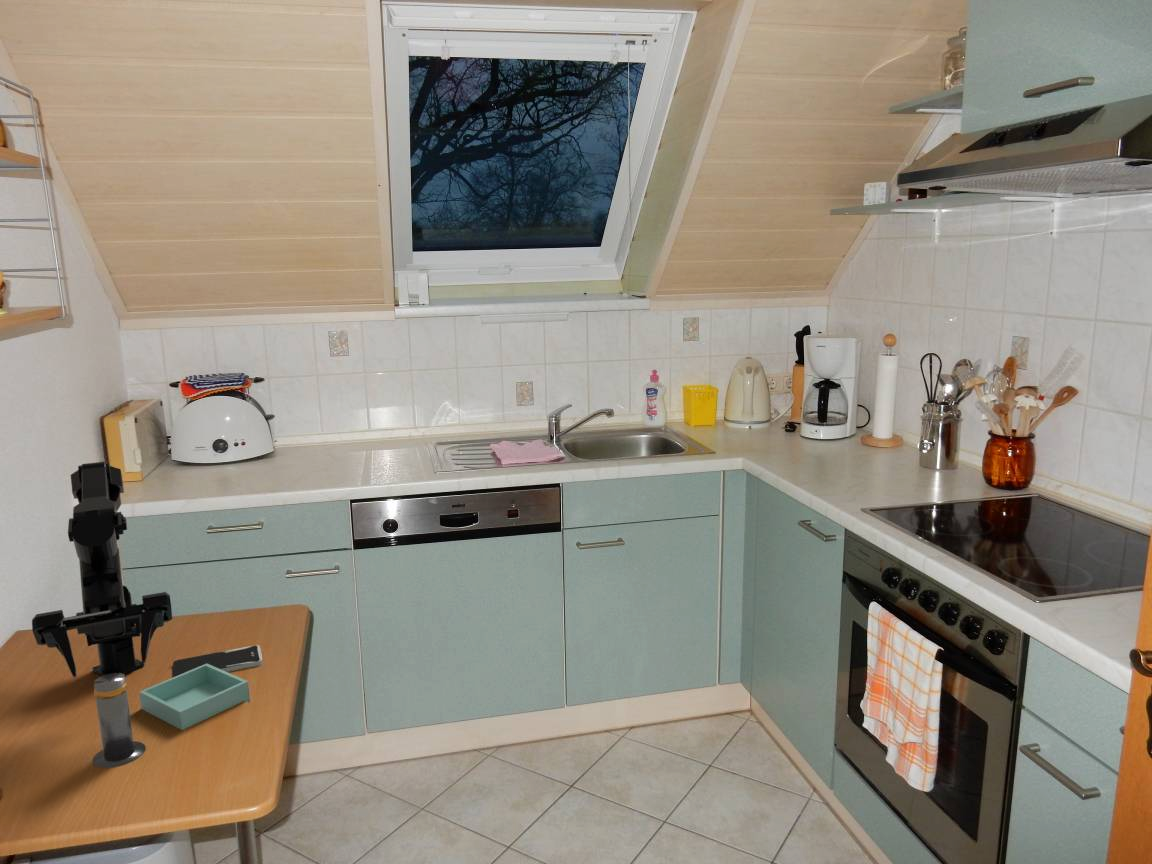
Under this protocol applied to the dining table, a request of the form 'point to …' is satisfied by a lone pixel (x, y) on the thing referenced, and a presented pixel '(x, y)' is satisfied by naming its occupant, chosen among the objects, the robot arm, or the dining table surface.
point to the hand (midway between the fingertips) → (109, 669)
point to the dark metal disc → (102, 763)
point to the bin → (194, 696)
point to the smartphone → (222, 660)
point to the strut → (114, 716)
